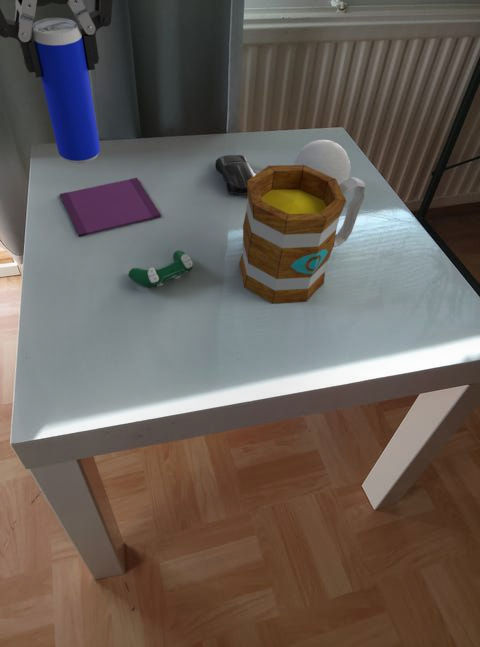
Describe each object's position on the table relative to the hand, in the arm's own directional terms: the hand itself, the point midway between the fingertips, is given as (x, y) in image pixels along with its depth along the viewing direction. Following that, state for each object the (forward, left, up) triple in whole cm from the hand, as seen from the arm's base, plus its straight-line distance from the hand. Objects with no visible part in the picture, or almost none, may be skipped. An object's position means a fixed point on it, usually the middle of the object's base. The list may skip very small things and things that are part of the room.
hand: (63, 70), depth 57 cm
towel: (+6, +12, -28) cm, 31 cm away
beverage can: (0, 0, -11) cm, 11 cm away
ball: (+42, +2, -28) cm, 50 cm away
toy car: (+30, +11, -28) cm, 42 cm away
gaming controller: (+8, -8, -28) cm, 30 cm away
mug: (+28, -14, -28) cm, 42 cm away
